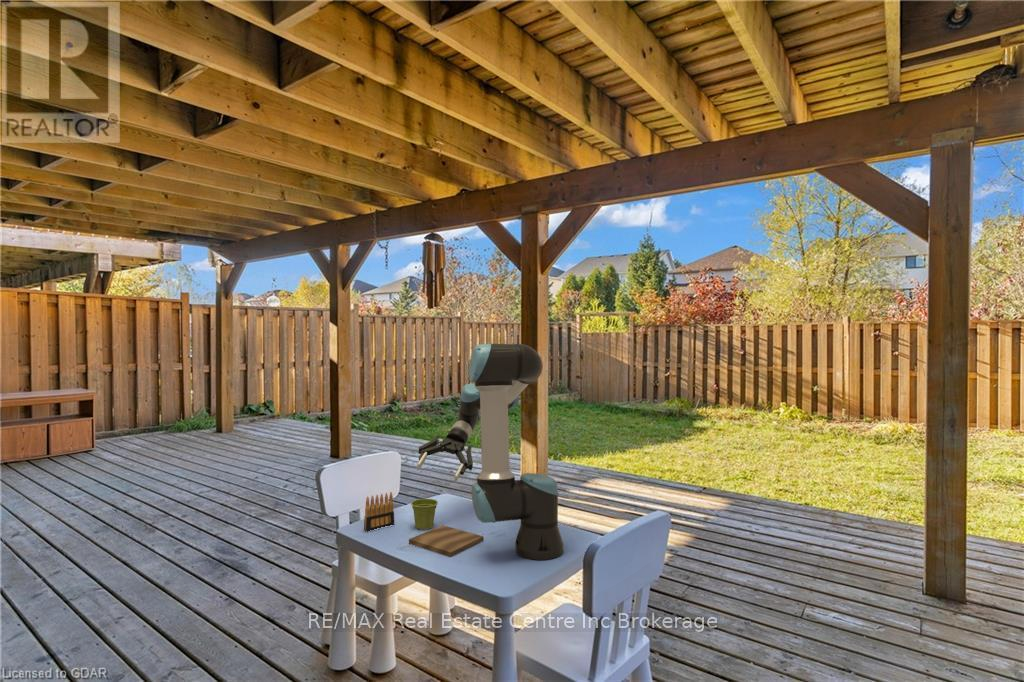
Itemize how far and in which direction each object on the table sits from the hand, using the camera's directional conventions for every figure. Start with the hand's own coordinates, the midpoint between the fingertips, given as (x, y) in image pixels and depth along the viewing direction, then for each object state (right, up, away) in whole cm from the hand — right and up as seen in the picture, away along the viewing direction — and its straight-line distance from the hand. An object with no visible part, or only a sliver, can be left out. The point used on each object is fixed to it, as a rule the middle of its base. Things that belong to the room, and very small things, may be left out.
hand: (436, 473), depth 176 cm
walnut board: (+4, -21, -7) cm, 22 cm away
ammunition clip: (-21, -21, +6) cm, 30 cm away
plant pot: (-5, -21, +7) cm, 23 cm away
